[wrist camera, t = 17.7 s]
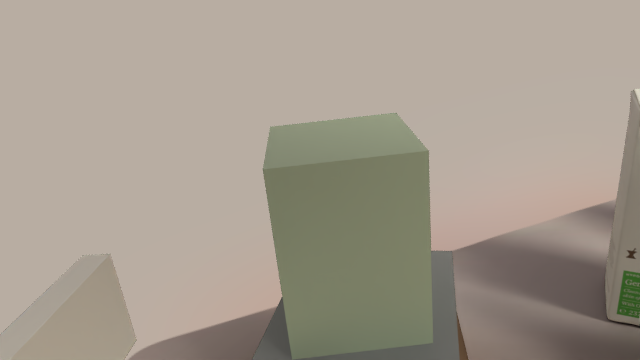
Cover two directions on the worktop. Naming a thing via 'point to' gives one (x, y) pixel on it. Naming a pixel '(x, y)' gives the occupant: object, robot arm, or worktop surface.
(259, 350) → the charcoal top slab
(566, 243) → the worktop surface
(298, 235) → the sage block
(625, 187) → the skincare box
